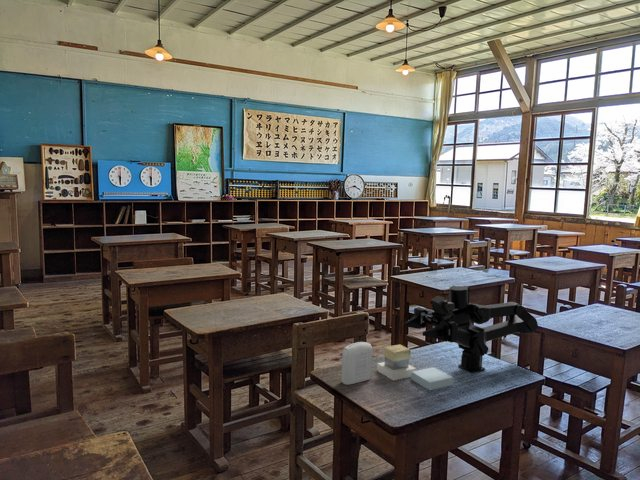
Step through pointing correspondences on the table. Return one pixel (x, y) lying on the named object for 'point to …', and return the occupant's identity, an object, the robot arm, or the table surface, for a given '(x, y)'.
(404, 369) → the stand
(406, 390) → the table surface
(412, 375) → the stand
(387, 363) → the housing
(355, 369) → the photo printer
